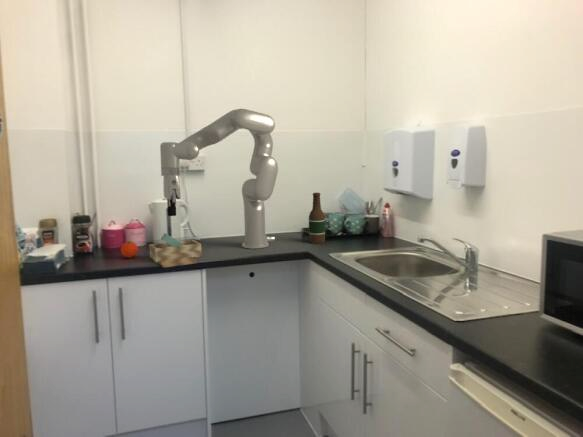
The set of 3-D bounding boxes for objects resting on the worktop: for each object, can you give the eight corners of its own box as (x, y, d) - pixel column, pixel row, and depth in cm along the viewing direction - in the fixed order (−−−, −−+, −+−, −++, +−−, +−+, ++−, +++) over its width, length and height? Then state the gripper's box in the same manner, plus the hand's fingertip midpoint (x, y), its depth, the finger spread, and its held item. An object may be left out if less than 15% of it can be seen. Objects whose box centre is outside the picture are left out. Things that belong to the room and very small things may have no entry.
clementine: (124, 255, 204) (123, 239, 203) (140, 254, 205) (139, 239, 204) (119, 259, 196) (118, 243, 195) (136, 259, 197) (135, 242, 196)
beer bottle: (309, 240, 230) (309, 192, 226) (325, 240, 229) (325, 191, 225) (308, 243, 222) (307, 193, 219) (324, 243, 221) (324, 193, 218)
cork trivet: (191, 258, 196) (191, 256, 196) (198, 262, 188) (198, 261, 188) (158, 262, 190) (158, 261, 189) (163, 267, 182) (163, 265, 182)
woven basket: (193, 251, 210) (193, 239, 209) (201, 256, 200) (201, 243, 199) (150, 256, 200) (149, 244, 200) (156, 262, 190) (155, 249, 190)
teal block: (183, 252, 204) (187, 246, 204) (186, 254, 200) (190, 248, 200) (160, 238, 198) (164, 232, 199) (163, 240, 194) (167, 234, 195)
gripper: (184, 172, 190) (185, 217, 192) (174, 171, 203) (176, 213, 205) (165, 173, 186) (167, 218, 189) (157, 171, 199) (158, 214, 202)
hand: (172, 215), depth 197 cm, fingers closed
